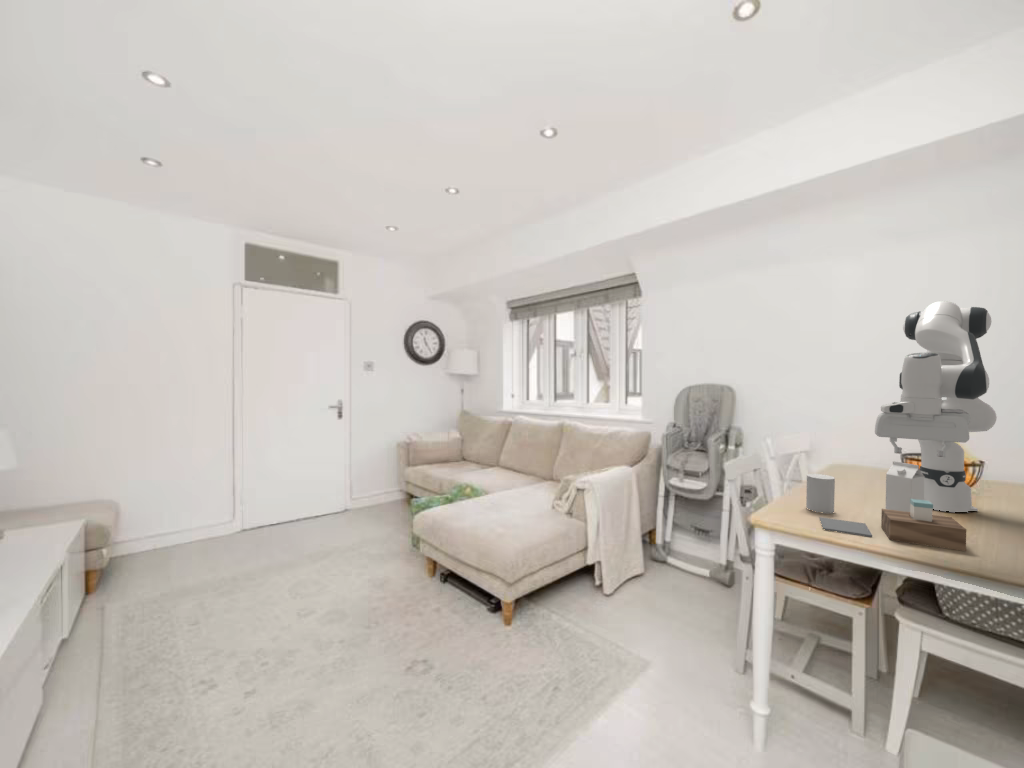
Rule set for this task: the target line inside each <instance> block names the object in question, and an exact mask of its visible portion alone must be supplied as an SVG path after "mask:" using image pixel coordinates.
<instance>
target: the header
mask: <svg viewBox="0 0 1024 768" xmlns="http://www.w3.org/2000/svg"><path fill="white" fill-rule="evenodd" d="M880 517H881V523H880V524H881V525H880V527H881V530H882V531H883V532H884V534H885V535H886V537H887V538H888V540H889V541H897V542H901V543H902V542H903V543H907V544H908V543H909V544H916V545H922V546H927V545H928V546H929V547H935V548H942V549H948V550H953V551H954V550H956V551H963V552H967V529H966V528H965V527H964V526H962V524H960V523H959V522H958V521H957V520H956V519H954V518H953V517H952V516H947V515H945V516H943V515H937V514H936V515H935V514H932V522H930V521H922V520H915V519H912V518H911V517H910V512H905V511H897V510H889V509H886V508H881V516H880Z"/></svg>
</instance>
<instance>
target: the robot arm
mask: <svg viewBox="0 0 1024 768" xmlns="http://www.w3.org/2000/svg"><path fill="white" fill-rule="evenodd" d="M991 325H992V316H991V315H990V313H989V311H988V310H987V309H986V308H985V307H979V306H978V307H977V306H971V307H960V306H958V304H956V303H954V302H951V301H948V300H941V301H940V300H939V301H935V302H933V303H930V304H929V305H927V306H926V307H925V308H924V310H923V311H916V312H915V311H914V312H912V313H910V314H909V315H907V316H906V317H905V319H904V322H903V325H902V330H903V332H904V335H905V337H906V338H908V340H912V341H916V343H917V344H918V345H919V346H920V347H921V348H923V349H925V350H926V352H915V353H913V352H912V353H909V354H907V355H906V356H904V360H903V364H902V367H901V368H902V370H901V372H900V373H899V382H898V383H899V385H898V386H899V389H901V390H902V392H901V395H900V400H899V401H897V402H896V401H894V402H891V403H888V404H882V405H881V406H880V411H881V413H879V414H878V416H877V417H876V421H875V425H874V434H875V435H876V437H880V438H889V442H890V443H891V445H892V446H893V451H894V454H899V455H900V454H902V453H903V452H902V450H903V448H902V447H901V446H898V445H897V443H896V442H898V439H904V440H905V439H908V440H917V441H918V443H919V447H920V455H921V456H920V460H921V461H920V462H921V463H920V466H919V470H920V471H921V472H922V474H923V475H924V476H925V480H924V500H926V501H930V502H931V503H932V504H933V509H934V510H933V509H932V510H933V511H939V510H940V511H941V512H946V511H949V512H948V513H955V512H967V513H969V512H968V511H977V512H978V511H979V508H977V507H975V506H973V504H972V503H973V500H972V488H971V486H969V485H968V484H967V483H966V479H967V474H966V470H965V450H964V448H963V447H962V445H959V444H958V443H963V444H964V443H967V442H968V441H969V440H970V433H978V432H979V433H981V432H988V431H989V430H991V429H992V428H993V427H994V426H995V424H996V422H997V417H998V416H997V413H996V411H995V410H994V408H993V406H991V405H990V404H988V403H986V402H985V401H983V400H981V399H980V397H982V396H984V395H985V394H986V393H987V392H988V390H989V388H990V378H989V375H988V374H989V373H987V370H986V369H985V366H984V364H983V360H982V359H983V358H982V356H981V351H980V347H979V344H978V341H977V339H980V338H982V337H984V335H986V334H987V333H988V331H989V329H990V327H991ZM943 398H946V399H943ZM940 511H939V512H940Z"/></svg>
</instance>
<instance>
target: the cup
mask: <svg viewBox="0 0 1024 768" xmlns="http://www.w3.org/2000/svg"><path fill="white" fill-rule="evenodd" d="M835 479H836V478H835V477H834V476H832V475H827V474H821V473H807V474H806V500H805V501H806V502H805V503H806V504H805V505H806V506H805V507H807V508H808V509H810V510H813V511H812V512H814V511H816V512H815V513H818V512H823V513H822V514H834V513H835V485H836V484H835V483H836V481H835ZM807 508H806V509H807ZM808 509H807V510H808ZM810 510H809V511H810ZM833 512H834V513H833Z"/></svg>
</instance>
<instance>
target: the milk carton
mask: <svg viewBox="0 0 1024 768" xmlns="http://www.w3.org/2000/svg"><path fill="white" fill-rule="evenodd" d="M919 469H920V466H919V464H912V463H906V462H901V461H900V462H899V461H895V460H894V461H892V465H891V466H890V467H889V469H888V470H887V472H886V473H885V474H886V475H885V509H889V510H897V511H905V512H910V499H916V500H924V480H925V476H924V475H923V474H922V472H921V471H920V470H919Z"/></svg>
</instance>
